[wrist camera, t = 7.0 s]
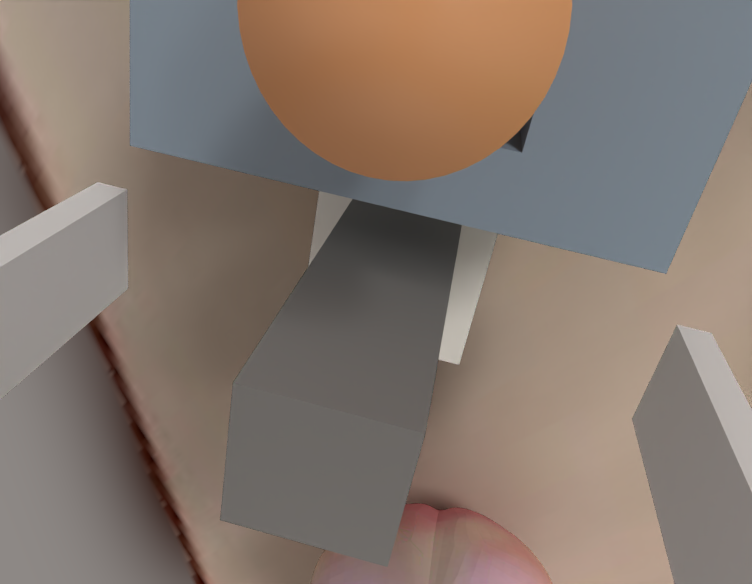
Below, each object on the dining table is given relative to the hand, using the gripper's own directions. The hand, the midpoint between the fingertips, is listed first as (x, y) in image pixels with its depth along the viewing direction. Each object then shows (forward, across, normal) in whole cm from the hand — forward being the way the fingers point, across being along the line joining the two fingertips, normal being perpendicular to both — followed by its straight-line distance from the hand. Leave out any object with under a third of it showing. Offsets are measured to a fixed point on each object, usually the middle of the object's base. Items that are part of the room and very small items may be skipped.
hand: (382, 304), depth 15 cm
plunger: (-1, 0, +7) cm, 7 cm away
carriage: (+8, 0, 0) cm, 8 cm away
